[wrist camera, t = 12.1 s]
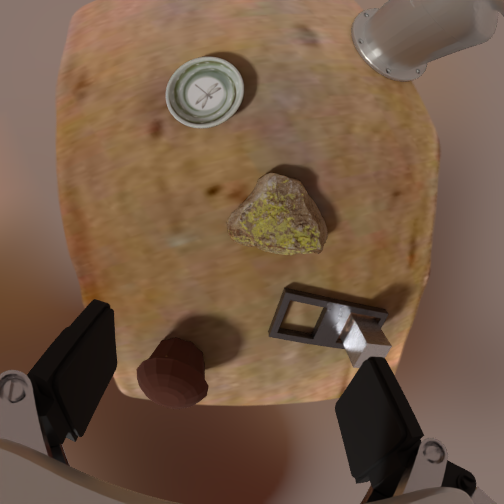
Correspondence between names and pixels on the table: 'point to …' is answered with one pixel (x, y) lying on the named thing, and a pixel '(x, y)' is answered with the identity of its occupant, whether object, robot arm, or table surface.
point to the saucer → (204, 92)
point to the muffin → (174, 374)
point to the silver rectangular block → (363, 339)
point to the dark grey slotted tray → (321, 318)
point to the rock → (279, 218)
